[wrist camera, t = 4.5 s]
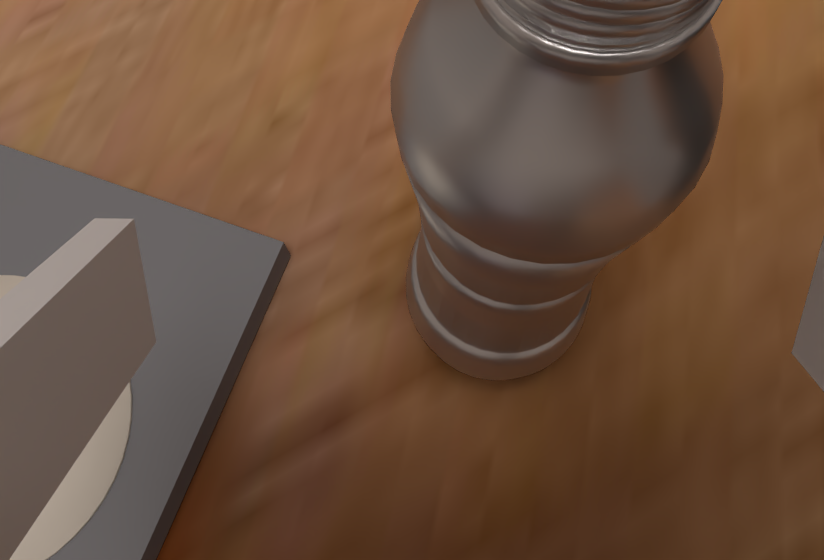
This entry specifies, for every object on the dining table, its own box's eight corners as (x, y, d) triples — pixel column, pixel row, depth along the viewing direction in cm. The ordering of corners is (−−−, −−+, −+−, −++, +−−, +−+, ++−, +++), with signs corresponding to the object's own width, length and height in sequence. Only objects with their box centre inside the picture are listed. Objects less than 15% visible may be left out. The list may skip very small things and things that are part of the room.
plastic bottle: (417, 401, 27) (393, 130, 8) (398, 233, 29) (342, -304, 10) (589, 381, 27) (979, 65, 8) (557, 215, 29) (805, -351, 10)
